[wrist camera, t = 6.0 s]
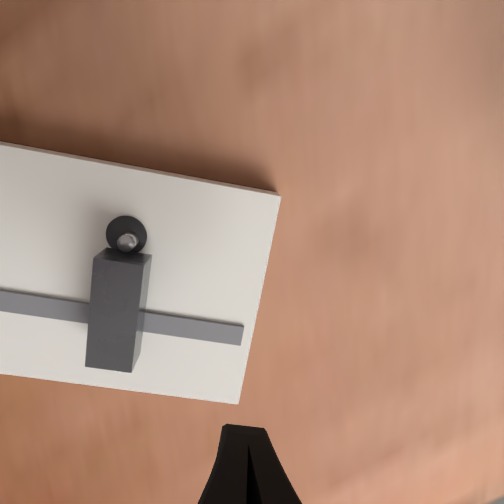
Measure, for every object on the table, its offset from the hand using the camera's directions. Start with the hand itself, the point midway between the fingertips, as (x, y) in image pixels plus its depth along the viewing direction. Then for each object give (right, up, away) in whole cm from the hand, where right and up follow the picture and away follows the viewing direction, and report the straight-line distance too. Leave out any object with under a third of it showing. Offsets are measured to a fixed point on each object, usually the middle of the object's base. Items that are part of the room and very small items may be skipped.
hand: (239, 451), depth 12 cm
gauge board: (-8, +5, +7) cm, 12 cm away
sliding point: (-5, +4, +5) cm, 9 cm away
